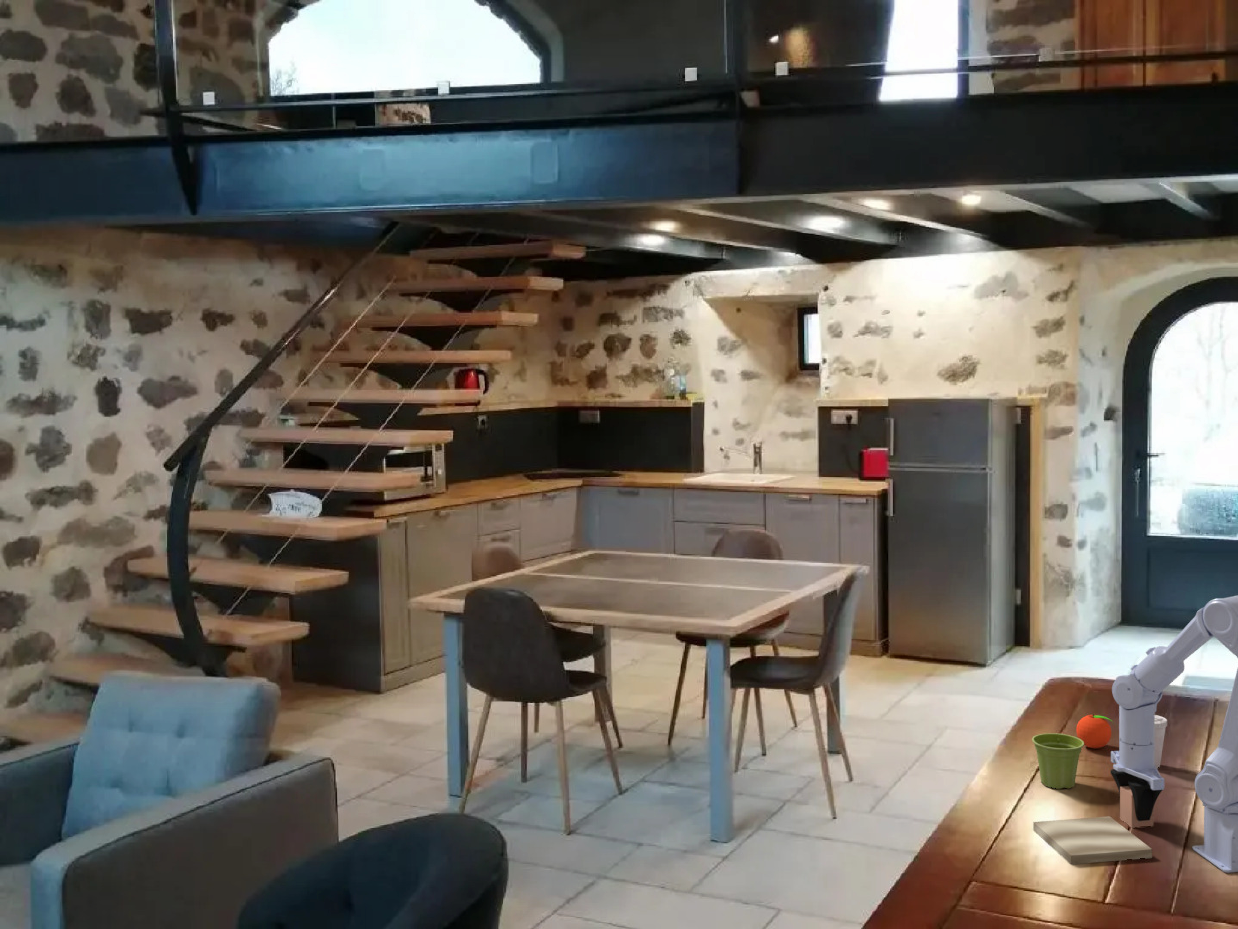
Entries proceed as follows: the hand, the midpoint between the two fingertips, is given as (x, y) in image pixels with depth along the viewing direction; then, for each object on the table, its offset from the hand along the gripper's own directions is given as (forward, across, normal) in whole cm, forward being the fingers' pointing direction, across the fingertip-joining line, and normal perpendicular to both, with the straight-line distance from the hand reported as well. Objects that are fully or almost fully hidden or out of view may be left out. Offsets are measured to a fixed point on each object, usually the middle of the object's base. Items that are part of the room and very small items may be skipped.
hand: (1136, 815), depth 208 cm
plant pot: (+2, -20, -5) cm, 21 cm away
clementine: (+2, -38, +12) cm, 40 cm away
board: (+1, +7, -12) cm, 14 cm away
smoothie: (+2, -26, +17) cm, 31 cm away
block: (+1, 0, 0) cm, 1 cm away
